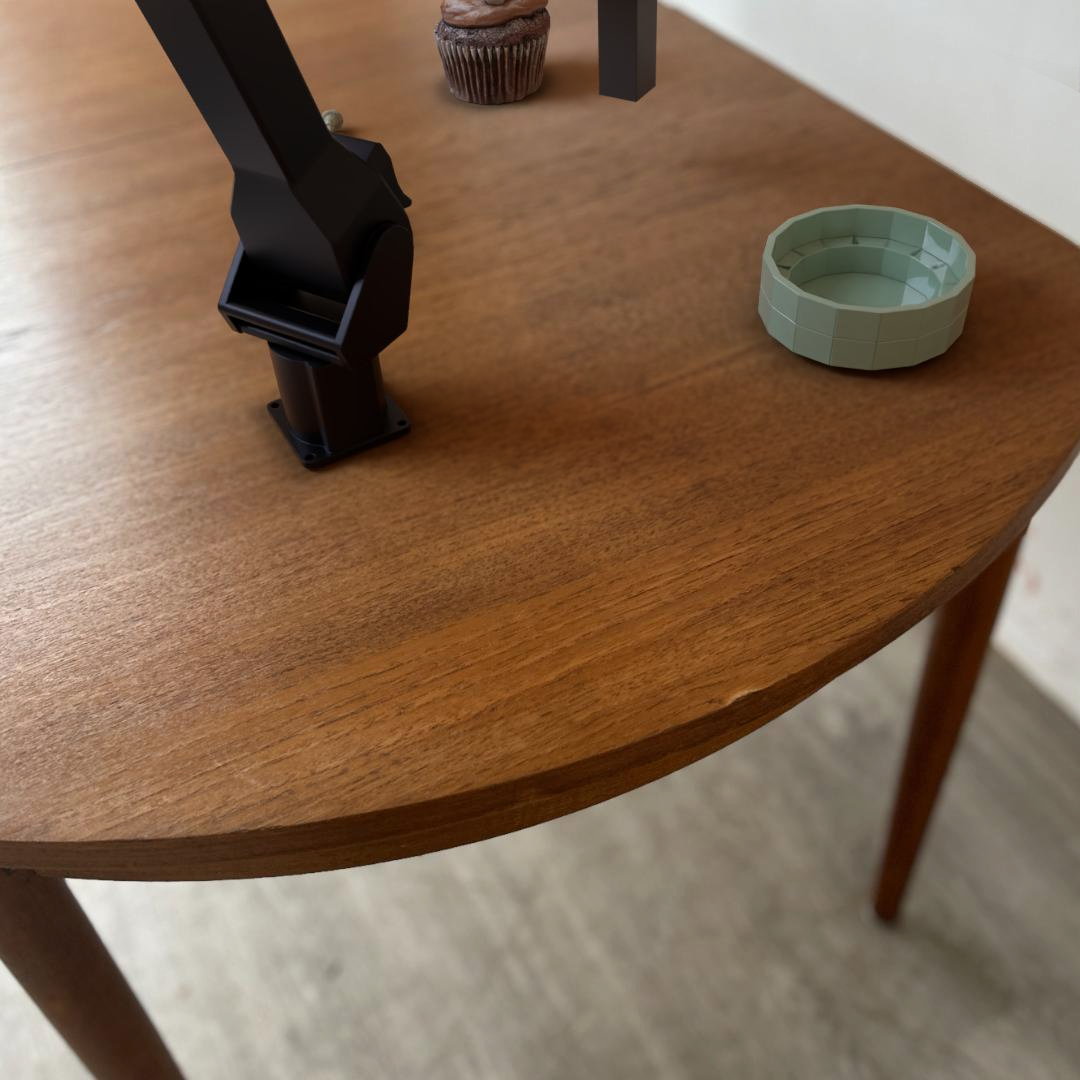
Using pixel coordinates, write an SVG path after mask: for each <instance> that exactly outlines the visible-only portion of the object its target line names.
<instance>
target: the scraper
mask: <svg viewBox="0 0 1080 1080" xmlns="http://www.w3.org/2000/svg"><path fill="white" fill-rule="evenodd" d="M657 31H658V0H597V46H598V47H597V49H598V50H597V53H598V55H597V56H598V59H597V60H598V95H599V96H603V97H608V98H613V99H618V100H623V101H628V102H632V103H633V102H634V103H637V102H638V101H640V100H641V99H642V98H643V97H644V96H646V95H647V94H648V93H650V92H651V91H652V90H653V89H654V88H655V87H656V86H657V85H656V84H657V83H656V82H657V36H658V33H657Z"/></svg>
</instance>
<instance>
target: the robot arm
mask: <svg viewBox="0 0 1080 1080" xmlns="http://www.w3.org/2000/svg"><path fill="white" fill-rule="evenodd" d="M134 2H135V4H136V5H137V7H138V9H139V10H140V12H141V14H142V16H143V17H144V19H145V21H146V23H147V24H148V26H149V27H150V29H151V31H152V33H153V34H154V36H155V38H156V39H157V41H158V43H159V45H160V46H161V48H162V50H163V52H164V53H165V55H166V56H167V58H168V60H169V61H170V63H171V65H172V67H173V69H174V70H175V73H177V75H178V77H179V79H180V81H181V82H182V84H183V85H184V87H185V89H186V90H187V92H188V94H189V96H190V97H191V99H192V102H193V103H194V104H195V106H196V108H197V109H198V111H199V113H200V115H201V116H202V118H203V120H204V121H205V123H206V125H207V127H208V128H209V130H210V132H211V134H212V135H213V137H214V139H215V140H216V142H217V143H218V145H219V147H220V148H221V151H222V152H223V154H224V156H225V157H226V159H227V160H228V163H229V165H230V166H231V169H232V171H233V177H232V178H233V179H232V187H231V196H230V202H229V203H230V204H229V213H230V217H231V219H232V222H233V225H234V227H235V229H236V232H237V235H238V238H239V241H238V243H237V246H236V250H235V252H234V254H233V258H232V262H231V264H230V267H229V270H228V272H227V276H226V278H225V281H224V283H223V284H224V285H223V288H222V290H221V293H220V296H219V299H218V302H217V311H218V312H219V314H220V315H221V316H222V318H223V319H224V321H225V322H226V324H227V325H228V326H229V328H230V329H231V331H233V332H236V333H238V334H247V335H249V336H252V337H254V338H257V339H261V340H264V341H266V343H267V347H268V351H269V355H270V359H271V363H272V367H273V372H274V375H275V380H276V384H277V388H278V392H279V395H280V398H277V399H275V400H272V401H270V402H269V403H267V405H266V410H267V413H268V415H269V418H271V421H272V422H273V423H274V424H275V426H276V427H277V429H278V431H279V432H280V434H281V436H282V437H283V439H284V440H285V441H286V443H287V444H288V446H289V447H290V449H291V450H292V452H293V454H294V455H295V457H296V458H297V459H298V461H299V462H300V464H301V465H302V467H303V468H304V469H307V470H313V469H316V468H320V467H322V466H324V465H326V464H329V463H332V462H336V461H338V460H339V459H343V458H345V457H348V456H350V455H353V454H356V453H358V452H362V451H364V450H366V449H370V448H372V447H375V446H377V445H380V444H383V443H385V442H388V441H390V440H393V439H396V438H398V437H401V436H404V435H407V434H408V433H410V432H411V431H412V422H411V420H410V418H409V417H408V416H407V415H406V413H405V412H404V411H403V410H402V408H401V407H400V406H399V405H398V403H397V402H396V401H395V400H394V398H393V397H392V396H391V395H390V393H389V392H388V391H387V390H386V388H385V384H384V379H383V373H382V372H383V371H382V366H381V360H380V354H381V353H382V352H383V351H384V350H386V349H387V348H388V347H389V346H390V345H391V344H393V342H395V341H396V340H397V339H398V338H399V337H400V336H402V335H403V334H404V333H405V332H406V331H407V329H408V325H409V315H410V304H411V294H412V293H411V291H412V280H413V271H414V270H413V269H414V258H415V245H414V231H413V228H412V225H411V221H410V218H409V215H408V213H407V211H406V209H407V208H410V207H411V206H412V204H413V200H412V199H411V197H409V196H408V195H407V194H406V193H404V191H403V188H401V185H400V184H399V182H398V178H397V175H396V171H395V169H394V164H393V160H392V158H391V155H390V154H389V153H388V151H387V150H386V149H385V147H384V146H383V144H382V143H380V142H377V141H373V140H369V139H365V138H361V137H357V136H353V135H349V134H345V133H341V132H337V131H335V132H333V131H330V130H329V129H328V127H327V126H326V123H325V121H324V119H323V117H322V113H321V111H320V109H319V107H318V105H317V102H316V101H315V98H314V96H313V94H312V92H311V90H310V88H309V86H308V84H307V82H306V79H305V77H304V76H303V73H302V71H301V69H300V67H299V64H298V63H297V60H296V59H295V56H294V54H293V52H292V51H291V48H290V46H289V44H288V41H287V39H286V38H285V35H284V33H283V31H282V28H281V27H280V25H279V23H278V20H277V18H276V17H275V14H274V13H273V10H272V8H271V6H270V4H269V2H268V0H134Z"/></svg>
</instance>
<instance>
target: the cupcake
mask: <svg viewBox="0 0 1080 1080" xmlns="http://www.w3.org/2000/svg"><path fill="white" fill-rule="evenodd" d="M548 4H549V0H442V2H441V3H440V7H439V8H440V15H441V18H440V19H439V21H438V22H436V25H434V28H433V32H432V35H433V38H434V41H435V44H436V47H437V50H438V53H439V57H440V59H441V63H442V68H443V71H444V75H445V79H446V82H447V85H448V88H449V90H450V93H451V94H452V95H454V96H455V98H457V99H459V100H461V101H464V102H467V103H474V104H480V105H501V104H505V103H513V102H516V101H522V100H523V99H524V98H525V97H527V96H529V95H531V94H533V93H535V92H537V90H538V89H539V88H540V87H541V86H542V83H543V76H544V70H545V69H544V68H545V62H546V61H545V60H546V53H547V48H548V44H549V36H550V30H551V16H550V13H549V11H548V9H547V8H546V7H548Z"/></svg>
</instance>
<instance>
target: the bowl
mask: <svg viewBox="0 0 1080 1080" xmlns="http://www.w3.org/2000/svg"><path fill="white" fill-rule="evenodd" d="M761 262H762V263H761V271H760V273H761V274H760V285H759V297H758V304H757V305H758V306H757V312H758V314H759V316H760V318H761V320H762V322H763V325H764V327H765V329H766V331H767V333H768V334H769V335H770V336H771V337H772V338H774V339H775V340H776V341H778V342H779V343H780V344H781V345H783V346H784V347H785V348H787V349H788V350H789V351H790V352H792V353H794V354H796V355H799V356H801V357H805V358H808V359H811V360H813V361H816V362H819V363H822V364H823V365H827V366H831V367H839V368H847V369H856V370H862V371H863V370H865V371H879V370H880V371H881V370H888V369H897V368H904V367H905V368H906V367H914V366H916V365H919V364H921V363H923V362H926V361H928V360H930V359H931V360H932V359H934V358H935V357H937V356H940V355H943V354H945V353H946V351H948V350H949V349H950V347H951V346H952V345H953V344H954V343H955V342H956V340H957V339H958V338H959V337H961V335H962V334H963V331H964V328H965V327H964V326H965V322H966V318H967V314H968V309H969V305H970V300H971V296H972V291H973V288H974V283H975V279H976V268H977V267H976V266H977V264H976V263H977V255H976V253H975V252H974V250H973V249H972V247H971V246H970V245H969V244H968V242H967V241H966V239H965V238H964V237H963V236H962V234H961V233H959V232H957V231H956V230H954V229H952V228H950V227H949V226H947V225H945V224H944V223H942V222H940V221H938V220H937V219H935V218H934V217H931V216H928V215H924V214H920V213H916V212H914V211H910V210H907V209H903V208H900V207H895V206H883V205H871V204H859V203H855V204H854V203H853V204H845V205H844V204H843V205H834V206H825V207H819V208H818V207H817V208H816V209H813V210H809V211H807V212H804V213H801V214H798V215H795V216H793V217H789V218H787V219H786V220H785V221H784V222H783V223H781V225H780V226H778V227H777V228H776V229H774V230H773V231H772V232H771V233H770V234H769V235H768V236H767V240H766V243H765V247H764V250H763V253H762V261H761Z"/></svg>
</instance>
